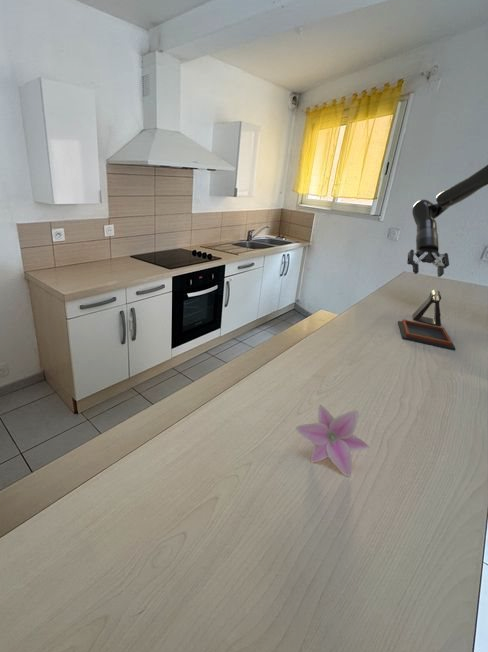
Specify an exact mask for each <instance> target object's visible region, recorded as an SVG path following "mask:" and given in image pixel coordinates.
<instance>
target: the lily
mask: <svg viewBox="0 0 488 652" xmlns="http://www.w3.org/2000/svg"><path fill="white" fill-rule="evenodd" d="M359 415H360V414H359V410H356V409H354V410H350V411H348V412H344V413H343V414H341V415H338V416H336V417H334V416H333V415H332V414H331V413H330V411H329V410H328V409H327V408H326V407H325V406H324V405H322V404H319V405H318V409H317V421H318V422H313V423H312V422H311V423H305V424H301V425H297V426H296V427H295V431H297V433H299V434H300V436H302V437H303V438H304V439H306V440H307V441H309V442H310V443H312V444H314V446H313V449H312V452H311V455H310V462H311V461H312V462H314V463H319V462H320V461H323V460H325V459H328V458H329V459H330V461H331V462H332V463H333V464H334V465H335V467H336V468H337V469H338V470H339V471H340V472H341V473H342V474H343V475H344V476H345V477H347V478H351V476H352V469H353V467H352V466H353V461H352V460H353V458H352V452H355V451H357V452H358V451H364V450H368V449H370V446H369V444H368V443H366V442H365V441H364V440H362V439H361V438H359V437H358V436H357V435H356V434H354V433H355V431H356V428H357V424H358V419H359ZM312 462H311V463H312Z"/></svg>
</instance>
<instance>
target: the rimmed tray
mask: <svg viewBox="0 0 488 652" xmlns="http://www.w3.org/2000/svg"><path fill="white" fill-rule="evenodd" d="M397 324H398V328H399V332H400V335H401V339H402V340H407V341H410V342H415V343H419V344H423V345H429V346H433V347H438V348H442V349H446V350H451V351H456V346H455V345H454V343H453V341H452V339H451V338H450V335H449V334H448V332H447V330H446V328H445V327H444V326H443V327H442V326H436V325H432V324H428V323H423V322H419V321H414V320H408V319H402V320H398V321H397Z"/></svg>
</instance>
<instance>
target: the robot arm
mask: <svg viewBox="0 0 488 652" xmlns="http://www.w3.org/2000/svg"><path fill="white" fill-rule="evenodd" d="M486 186H488V164H486V165H485V166H484V167H482V168H480V169H479V170H478V171H476V172H475V173H473V174H471V175H470V176H468V177H466V178H464V179H463V180H461V181H459V182H457V183H456V184H453V185H452V186H450V187H449V188H447V189H445V190H443V191H441V192H439V193H438V194H437V195H436V197H435V201H436V203H433V202H431V201H430V200H429V199H420V200H418V201H416V202H415V203H414V205H413V206H412V211H411V212H412V217H413V219H414V223H415V225H416V236H415V244H416V245H415V247H416V249H415V250H414V249H410V250H409V251H408V252H407V261H406V263H407V265H410V266H412V273H413V274H414V275H418V274H419V271H420V270H419V269H420V268H419V267H420V266H419V263H427V264H432V265H433V266H435V267H436V268H437V269H436V270H437V271H436V273H437V277H438V278H441V277H442V276H443V275H444V274H445V269H447V268H448V267H449V266H450V259H449V253H447V252H444V253H440V252H439V250H440V249H439V248H440V247H439V234H438V227H437V226H438V225H437V221H436V218H438V217H439V216H440V215H442V214H443V213H444V212H445V211H447V210H448V209H449V208H450V207H453V206H454V205H457V204H458V203H460V202H462V201H463V200H466V199H467V198H469V197H470V196H472V195H473V194H475V193H476V192H477V191H479V190H481V189H482V188H484V187H486ZM414 256H416V257H417V259H416V260H414Z"/></svg>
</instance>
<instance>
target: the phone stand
mask: <svg viewBox="0 0 488 652" xmlns="http://www.w3.org/2000/svg"><path fill="white" fill-rule="evenodd" d="M436 292H437V293H436ZM441 300H442V295H441V292H440V290H437V291H436V290H435V289H433V290H431V291H430V293H429V295H428V297H427V298H426V300H424V302H422V304H421V305H419V307H418V308H417V309H416V311H414V312H413V313H412V321H414V322H418V323H423V324H428V325H433V326H438V327H442V323H441V322H442V321H441V319H442V318H441V309H440V302H441ZM432 304H434V313H433V314H434V315H433V316H434V317H427V316H423V315H424V314H425V313H426V312H427V310H428V309H429V308H430V306H431V305H432Z"/></svg>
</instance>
